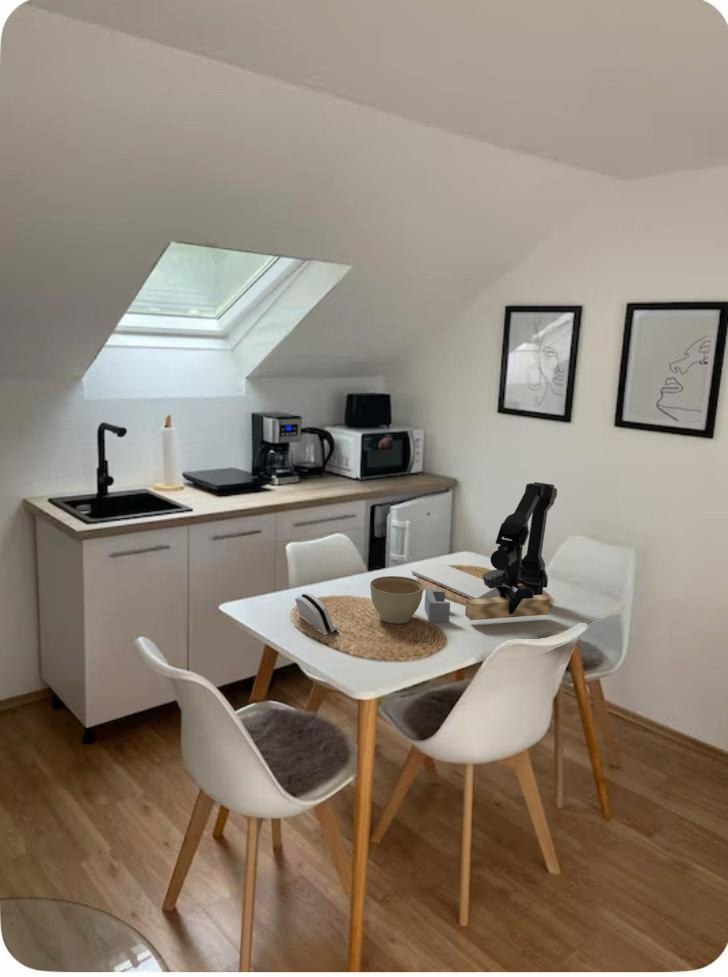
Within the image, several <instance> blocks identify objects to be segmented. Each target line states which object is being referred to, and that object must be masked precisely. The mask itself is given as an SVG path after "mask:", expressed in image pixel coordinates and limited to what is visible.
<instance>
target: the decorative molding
mask: <svg viewBox="0 0 728 977" xmlns="http://www.w3.org/2000/svg"><path fill="white" fill-rule="evenodd" d="M410 571H411V574H412V575H414V576H416V577H418V578H420V577H421V579H423V578H424V579H423V580H425V579H427V580H430V581H432V582H435V583H437V584H440V585H442V586H445V587H447V588H449V589H451V590H454V591H456V592H458V593H460V594H463V595H465V596H467V597H469V598H472V599H486V598H493V597H497V596H500V595H499V592H498V590H497V589H496V588H492V589H490V588H489V587H488V586H486V585H485V584H484V580H483V578H480V577H478V576H474V575H473V574H471V573H468V572H465V571H462V570H460V569H457V568H455V567H452V566H450V565H447V564H444V563H442V562H440V561H437V560H435V559H433V558H431V559H429V560H427V561H426V562H423V563H421V564H419V565H417V566H416V567H414V568H412V569H410ZM427 580H426V581H427ZM430 581H429V582H430ZM432 582H431V583H432ZM437 584H436V585H437ZM460 594H459V595H460ZM469 598H468V599H469Z"/></svg>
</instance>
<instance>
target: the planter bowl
mask: <svg viewBox="0 0 728 977" xmlns="http://www.w3.org/2000/svg"><path fill="white" fill-rule="evenodd" d="M369 587H370V597H371V601H372V604H373V606H374V609H375V610H376V612H377V613H378V616H379V619H380V620H381V621H383V622H385V623H388V624H394V623H395V624H396V625H398V624H401V625H402V624H407V623H409V622H410V621H411V620H412V616H413V615H414V614H415V613H416V611H417V610H418V609H419V607H420V604H421V603H422V599H423V592H424V591H425V586H424V584H423V583H422V582H421V581H420V580H417V579H415V578H412V577H408V576H400V575H399V576H398V575H388V576H387V575H385V576H380V577H377V578H373V579H372V580H371V581H370V583H369ZM395 624H394V625H395Z"/></svg>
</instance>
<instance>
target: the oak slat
mask: <svg viewBox="0 0 728 977" xmlns="http://www.w3.org/2000/svg"><path fill="white" fill-rule="evenodd" d="M550 603H551V599H550V598H549V597H548V596H546V595H544V594H542V595H533V598H528V599H522V601H521V602H520V603H519V605H518V607H517V608H516V610H515V611H514V613H513V614H509V600H508V597H501V598H486V599H466V600H465V612H464V613H465V614H464V616H465V617H466V618H467V619H468V620H470V621H481V620H493V619H506V618H520V617H521V618H522V617H534V616H548V615H549V614H550V613H549V612H550Z"/></svg>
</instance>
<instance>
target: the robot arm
mask: <svg viewBox="0 0 728 977" xmlns="http://www.w3.org/2000/svg"><path fill="white" fill-rule="evenodd" d="M557 496H558V489H557V488H556V487H555V484H552V483H551V484H550V483H546V482H545V483H543V482H537V481H535V482H533V483H531V482H530V483H526V486H525V489H524V493H523V495H522V497H521V498H520V501H519V503H518V505H517V507H516V508H515V510H514V512H513V513H511V514H509V515H508V516H506V518H505V519H504V520H503V522H502V523H501V524H500V527H499V530H498V532H497V533H498V534H497V537H496V539H495V544H496V545H498V547H497V550H495V551H494V552H492V554H491V555H490V563H491V565H492V567H493V568H494V569H493V570H490V571H488V572H486V573H483V574H482V579H483V580H484V584H485V585H486V586H488V587H489V588H490V589H492V588H496V589H497V590H498V592H499V595H500V598H501V597H508V600H509V614H513V613H514V611H515V610H516V608H517V607H518V605H519V603H520V602H521V601H522V599H528V598H533V595H543V590H544V589H545V588H548V584H549V583H548V582H549V578H548V574H547V571H546V570H545V569H546V562H545V561H544V558H543V557H542V553H543V546H544V539H545V531H546V524H547V518H548V511H549V510H550V509H551V508H552V507H553V505H554V504H555V499H557ZM530 518H531V520H530ZM529 521H531V522H530V528H529V524H528V523H529ZM527 541H528V544H527V550H526V554H525V555H524V557H523V551H524V550H523V549H524V546H525V545H526V542H527ZM520 584H521V585H520Z"/></svg>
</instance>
